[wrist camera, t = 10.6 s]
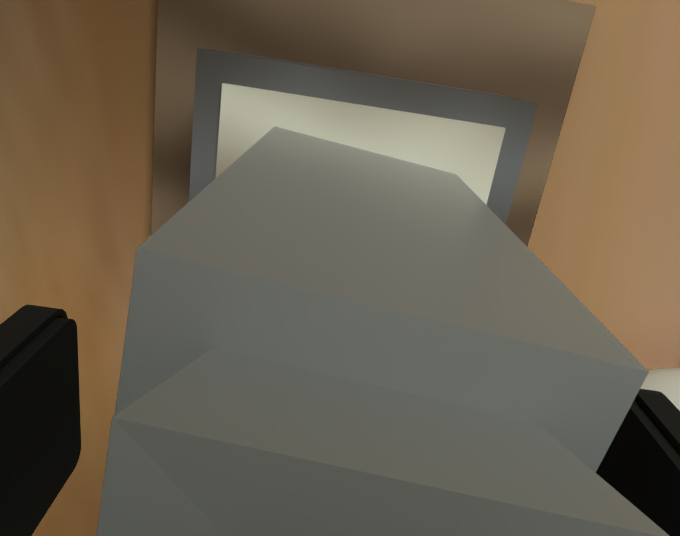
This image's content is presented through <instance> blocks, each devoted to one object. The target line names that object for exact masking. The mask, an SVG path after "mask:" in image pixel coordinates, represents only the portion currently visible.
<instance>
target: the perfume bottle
mask: <svg viewBox="0 0 680 536" xmlns="http://www.w3.org/2000/svg"><path fill="white" fill-rule="evenodd" d="M648 373H649V371H648V370H647V369H646V368H645V367H644V366H643V365H642V364H641V363H640V362H639V361H638V360H637V359H636V358H635V357H634V356H633V355H632V354H631V353H630V352H629V351H628V350H627V349H626V348H625V347H624V346H623V345H622V344H621V343H620V342H619V341H618V340H617V339H616V338H615V336H614V335H613V334H612V333H611V332H610V331H609V330H608V329H607V328H606V327H605V326H604V325H603V324H602V323H601V322H600V321H599V320H598V319H597V318H596V317H595V316H594V315H593V314H592V313H591V312H590V311H589V310H588V309H587V308H586V307H585V306H584V305H583V304H582V303H581V302H580V301H579V300H578V299H577V297H576V296H575V295H574V294H573V293H572V292H571V291H570V290H569V289H568V288H567V287H566V286H565V285H564V284H563V283H562V282H561V281H560V280H559V279H558V278H557V277H556V276H555V275H554V274H553V273H552V272H551V271H550V270H549V269H548V268H547V267H546V266H545V265H544V264H543V263H542V262H541V261H540V260H539V258H538V257H537V256H536V255H535V254H534V253H533V252H532V251H531V250H530V249H529V248H528V247H527V246H526V245H525V244H524V243H523V242H522V241H521V240H520V239H519V238H518V237H517V236H516V235H515V234H514V233H513V232H512V231H511V230H510V229H509V228H508V227H507V226H506V225H505V224H504V223H503V222H502V221H501V219H500V218H499V217H498V216H497V215H496V214H495V213H494V212H493V211H492V210H491V209H490V208H489V207H488V206H487V205H486V204H485V203H484V202H483V201H482V200H481V199H480V198H479V197H478V196H477V195H476V194H475V193H474V192H473V191H472V190H471V189H470V188H469V187H468V186H467V185H466V184H465V183H464V182H463V180H462V179H461V178H460V177H459V176H458V175H457V174H453V173H450V172H446V171H442V170H438V169H434V168H431V167H427V166H423V165H419V164H416V163H412V162H408V161H404V160H400V159H397V158H393V157H389V156H385V155H381V154H378V153H374V152H370V151H366V150H362V149H359V148H355V147H351V146H347V145H344V144H340V143H336V142H332V141H328V140H325V139H321V138H317V137H313V136H309V135H306V134H302V133H298V132H294V131H291V130H287V129H283V128H279V127H275V126H274V127H273V128H272V129H271V130H270V131H269V132H267V133H266V134H265V135H264V136H263V137H262V138H261V139H260V140H258V141H257V142H256V143H255V144H254V145H253V146H252V147H251V148H249V149H248V150H247V151H246V152H245V153H244V154H243V155H242V156H240V157H239V158H238V159H237V160H236V161H235V162H234V163H232V164H231V165H230V166H229V167H228V168H227V169H226V170H225V171H223V172H222V173H221V174H220V175H219V176H218V177H217V178H216V179H214V180H213V181H212V182H211V183H210V184H209V185H208V186H207V187H205V188H204V189H203V190H202V191H201V192H200V193H199V194H197V195H196V196H195V197H194V198H193V199H192V200H191V201H190V202H188V203H187V204H186V205H185V206H184V207H183V208H182V209H181V210H179V211H178V212H177V213H176V214H175V215H174V216H173V217H171V218H170V219H169V220H168V221H167V222H166V223H165V224H164V225H162V226H161V227H160V228H159V229H158V230H157V231H156V232H155V233H153V234H152V235H151V236H150V237H149V238H148V239H147V240H146V241H144V242H143V243H142V244H141V245H140V246H139V247H138V248H137V251H136V258H135V266H134V273H133V281H132V288H131V296H130V303H129V311H128V319H127V326H126V334H125V341H124V349H123V356H122V364H121V371H120V379H119V386H118V394H117V401H116V409H115V416H113V417H112V422H111V429H110V437H109V445H108V452H107V460H106V468H105V475H104V483H103V490H102V498H101V506H100V513H99V521H98V529H97V536H669V535H668V534H667V533H666V532H665V531H664V530H662V529H661V528H660V527H659V526H658V525H656V524H655V523H654V522H653V521H652V520H651V519H649V518H648V517H647V516H646V515H645V514H644V513H642V512H641V511H640V510H639V509H638V508H636V507H635V506H634V505H633V504H632V503H631V502H629V501H628V500H627V499H626V498H625V497H624V496H622V495H621V494H620V493H619V492H618V491H616V490H615V489H614V488H613V487H612V486H611V485H609V484H608V483H607V482H606V481H605V480H604V479H602V478H601V477H600V476H599V475H598V474H596V471H597V469H598V467H599V465H600V463H601V462H602V460H603V458H604V456H605V454H606V452H607V450H608V448H609V446H610V445H611V443H612V441H613V439H614V437H615V435H616V433H617V431H618V429H619V428H620V426H621V424H622V422H623V420H624V418H625V416H626V414H627V412H628V411H629V409H630V407H631V405H632V403H633V401H634V399H635V397H636V395H637V394H638V392H639V390H640V388H641V386H642V384H643V382H644V380H645V378H646V377H647V375H648Z"/></svg>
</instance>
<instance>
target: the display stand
mask: <svg viewBox="0 0 680 536" xmlns="http://www.w3.org/2000/svg"><path fill="white" fill-rule="evenodd" d="M595 9H596V6H593V5H587V4H581V3H575V2H569V1H563V0H158V15H157V49H156V82H155V116H154V150H153V184H152V217H151V235H152V234H153V233H155V232H156V231H157V230H158V229H159V228H160V227H161V226H162V225H164V224H165V223H166V222H167V221H168V220H169V219H170V218H171V217H173V216H174V215H175V214H176V213H177V212H178V211H179V210H181V209H182V208H183V207H184V206H185V205H186V204H187V203H188V202H190V201H191V200H192V199H193V198H194V197H195V196H196V195H197V194H199V193H200V192H201V191H202V190H203V189H204V188H205V187H207V186H208V185H209V184H210V183H211V182H212V181H213V180H214V179H216V178H217V177H218V176H219V175H220V174H221V173H222V172H223V171H225V170H226V169H227V168H228V167H229V166H230V165H231V164H232V163H234V162H235V161H236V160H237V159H238V158H239V157H240V156H242V155H243V154H244V153H245V152H246V151H247V150H248V149H249V148H251V147H252V146H253V145H254V144H255V143H256V142H257V141H258V140H260V139H261V138H262V137H263V136H264V135H265V134H266V133H267V132H269V131H270V130H271V129H272V128H273V127H274V126H275V127H279V128H283V129H287V130H291V131H294V132H298V133H302V134H306V135H309V136H313V137H317V138H321V139H325V140H328V141H332V142H336V143H340V144H344V145H347V146H351V147H355V148H359V149H362V150H366V151H370V152H374V153H378V154H381V155H385V156H389V157H393V158H397V159H400V160H404V161H408V162H412V163H416V164H419V165H423V166H427V167H431V168H434V169H438V170H442V171H446V172H450V173H453V174H457V175H458V176H459V177H460V178H461V179H462V180H463V182H464V183H465V184H466V185H467V186H468V187H469V188H470V189H471V190H472V191H473V192H474V193H475V194H476V195H477V196H478V197H479V198H480V199H481V200H482V201H483V202H484V203H485V204H486V205H487V206H488V207H489V208H490V209H491V210H492V211H493V212H494V213H495V214H496V215H497V216H498V217H499V218H500V219H501V221H502V222H503V223H504V224H505V225H506V226H507V227H508V228H509V229H510V230H511V231H512V232H513V233H514V234H515V235H516V236H517V237H518V238H519V239H520V240H521V241H522V242H523V243H524V244H525V245H526V246H528V242H529V239H530V235H531V232H532V228H533V225H534V221H535V218H536V214H537V211H538V207H539V204H540V200H541V197H542V193H543V190H544V186H545V183H546V179H547V176H548V173H549V169H550V166H551V162H552V159H553V155H554V152H555V148H556V145H557V141H558V138H559V134H560V131H561V127H562V124H563V120H564V117H565V113H566V110H567V106H568V103H569V99H570V96H571V92H572V89H573V85H574V82H575V78H576V75H577V72H578V68H579V65H580V61H581V58H582V54H583V51H584V47H585V44H586V40H587V37H588V33H589V30H590V26H591V23H592V19H593V16H594V12H595Z"/></svg>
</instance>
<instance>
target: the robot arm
mask: <svg viewBox="0 0 680 536" xmlns="http://www.w3.org/2000/svg"><path fill="white" fill-rule="evenodd" d="M80 451H81V431H80V402H79V373H78V343H77V325H76V322H75V321H74V320H73V319H68V318H67V315H66V312H65V311H64V310H63V309H56V308H49V307H41V306H34V305H25V306H24V307H22V308H21V309H19V310H18V311H17V312H16V313H14V314H13V315H12V316H11V317H9V318H8V319H7V320H6V321H4V322H3V323H2V324H1V325H0V536H31V535H32V534H33V532H34V531H35V529H36V527H37V526H38V524H39V523H40V521H41V520H42V518H43V517H44V515H45V514H46V512H47V510H48V509H49V507H50V506H51V504H52V503H53V501H54V500H55V498H56V496H57V495H58V493H59V492H60V490H61V489H62V487H63V486H64V484H65V483H66V481H67V479H68V478H69V476H70V475H71V473H72V472H73V470H74V468H75V467H76V464H77V462H78V459H79V456H80ZM596 474H598V475H599V476H600V477H601V478H602V479H604V480H605V481H606V482H607V483H608V484H609V485H611V486H612V487H613V488H614V489H615V490H616V491H618V492H619V493H620V494H621V495H622V496H624V497H625V498H626V499H627V500H628V501H629V502H631V503H632V504H633V505H634V506H635V507H636V508H638V509H639V510H640V511H641V512H642V513H644V514H645V515H646V516H647V517H648V518H649V519H651V520H652V521H653V522H654V523H655V524H656V525H658V526H659V527H660V528H661V529H662V530H664V531H665V532H666V533H667V534H668V535H669V536H680V411H679V410H678V409H677V408H676V407H675V405H674V404H673V403H672V402H671V401H670V400H669V399H668V398H667V397H666V396H665V395H664V394H663V393H662V392H659V391H654V390H646V389H640V390H639V392H638V394H637V395H636V397H635V399H634V401H633V403H632V405H631V407H630V409H629V411H628V412H627V414H626V416H625V418H624V420H623V422H622V424H621V426H620V428H619V429H618V431H617V433H616V435H615V437H614V439H613V441H612V443H611V445H610V446H609V448H608V450H607V452H606V454H605V456H604V458H603V460H602V462H601V463H600V465H599V467H598V469H597V471H596Z"/></svg>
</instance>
